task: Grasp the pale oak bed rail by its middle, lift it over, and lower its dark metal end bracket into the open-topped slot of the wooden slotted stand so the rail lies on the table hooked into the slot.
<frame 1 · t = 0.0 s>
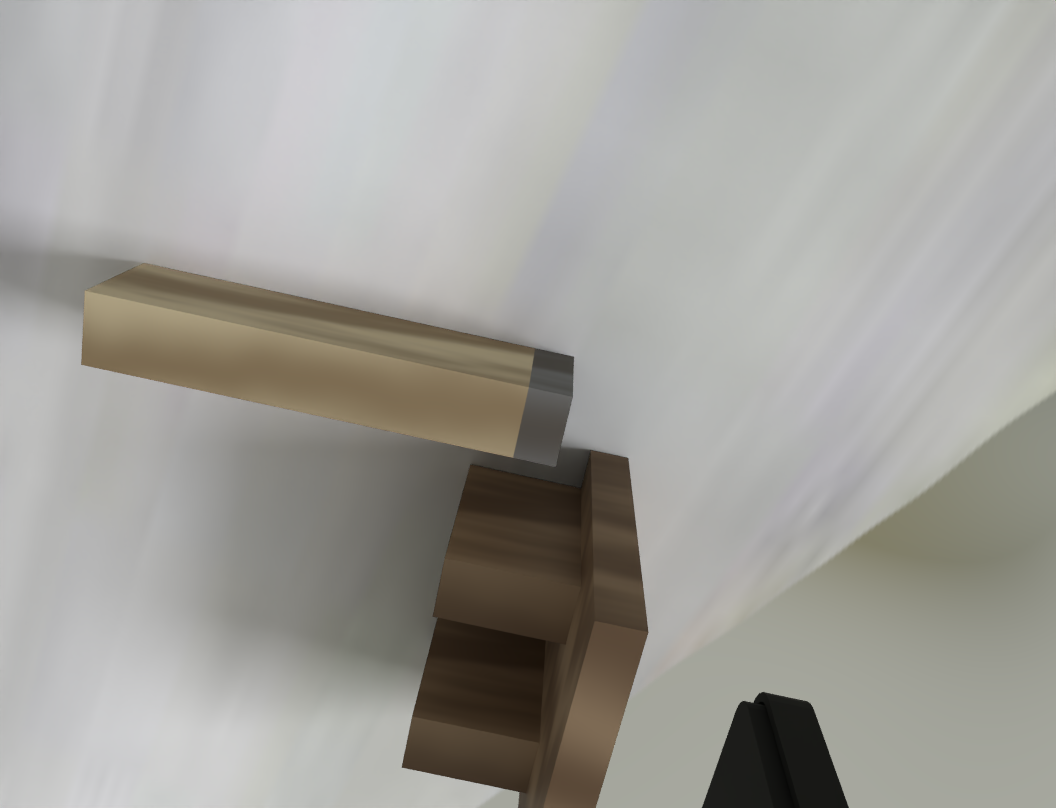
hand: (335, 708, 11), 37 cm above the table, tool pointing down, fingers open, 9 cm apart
bed rail: (354, 342, 48), on the table
wooden slotted stand: (504, 569, 52), on the table
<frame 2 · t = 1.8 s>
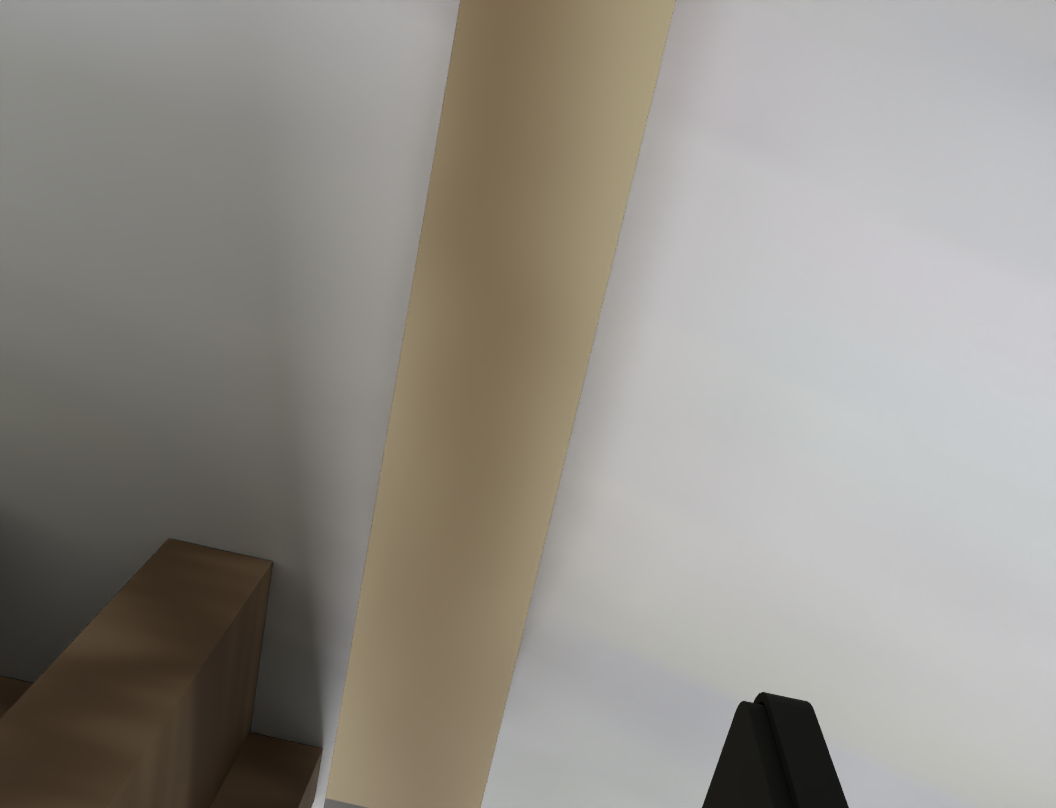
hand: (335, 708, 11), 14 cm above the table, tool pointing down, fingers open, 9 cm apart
bed rail: (503, 370, 24), on the table
wooden slotted stand: (69, 606, 28), on the table
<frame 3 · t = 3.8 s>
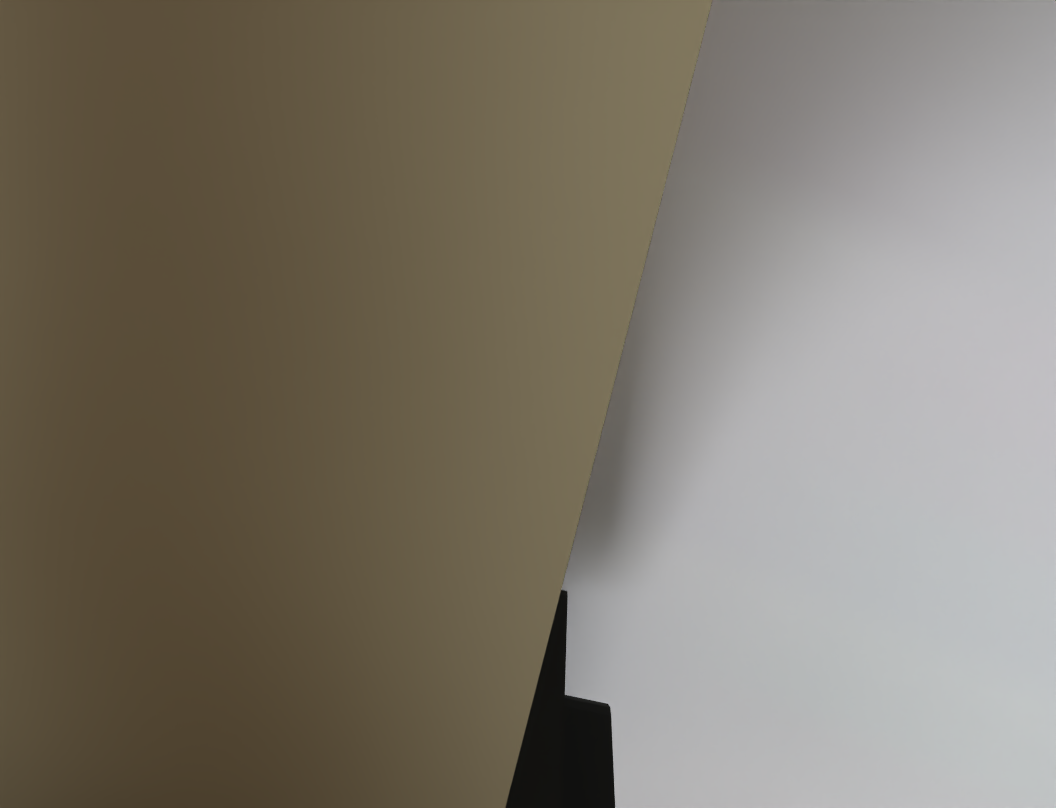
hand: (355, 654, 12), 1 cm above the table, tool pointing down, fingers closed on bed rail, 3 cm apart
bed rail: (368, 620, 13), on the table, touching gripper
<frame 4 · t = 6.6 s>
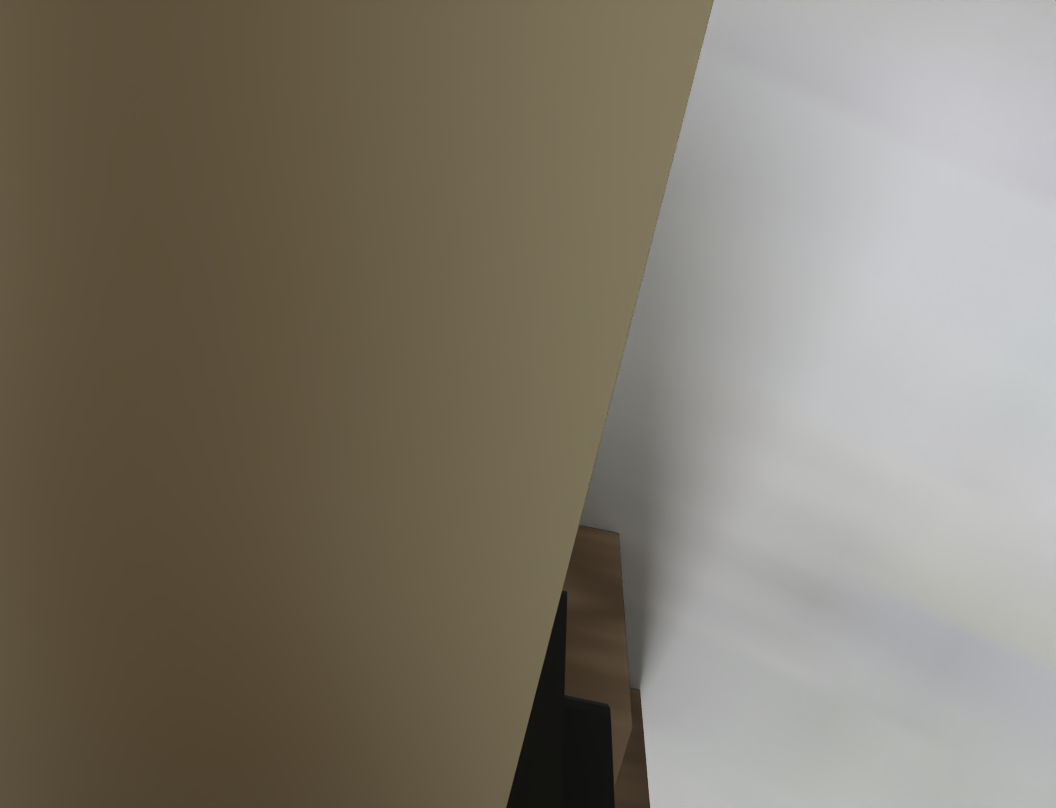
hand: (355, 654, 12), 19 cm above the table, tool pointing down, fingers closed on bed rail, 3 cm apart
bed rail: (368, 621, 13), point 18 cm above the table, touching gripper
wooden slotted stand: (438, 573, 33), on the table
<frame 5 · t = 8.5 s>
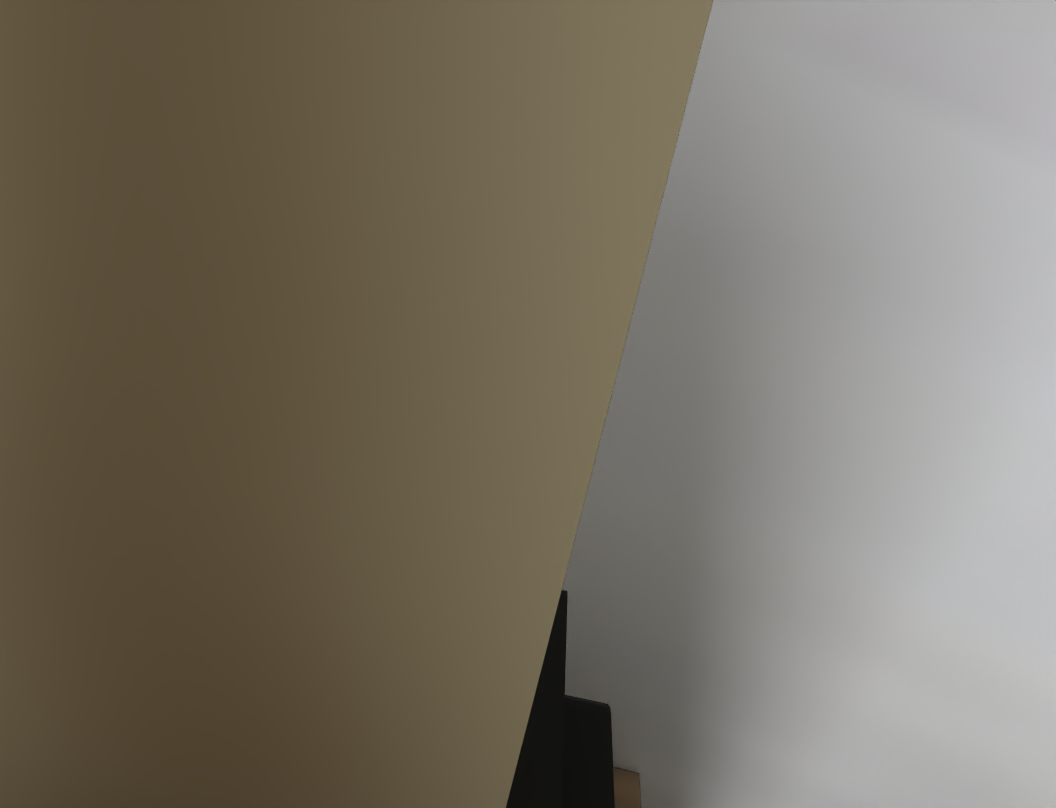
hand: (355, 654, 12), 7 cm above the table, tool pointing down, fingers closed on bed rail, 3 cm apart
bed rail: (368, 620, 13), point 7 cm above the table, touching gripper
when the fingers open (2 cm above the table, at t = 9.9 s): bed rail drops 1 cm, on the table.
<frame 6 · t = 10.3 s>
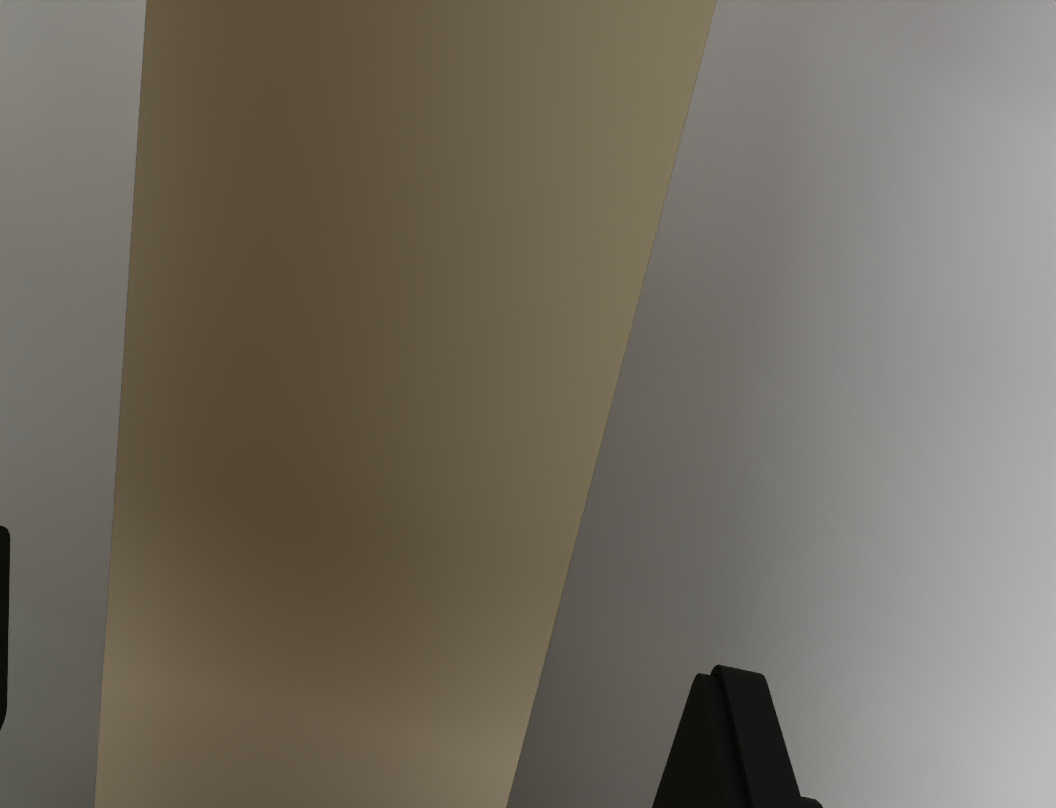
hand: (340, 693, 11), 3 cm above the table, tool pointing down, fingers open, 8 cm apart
bed rail: (400, 567, 14), on the table
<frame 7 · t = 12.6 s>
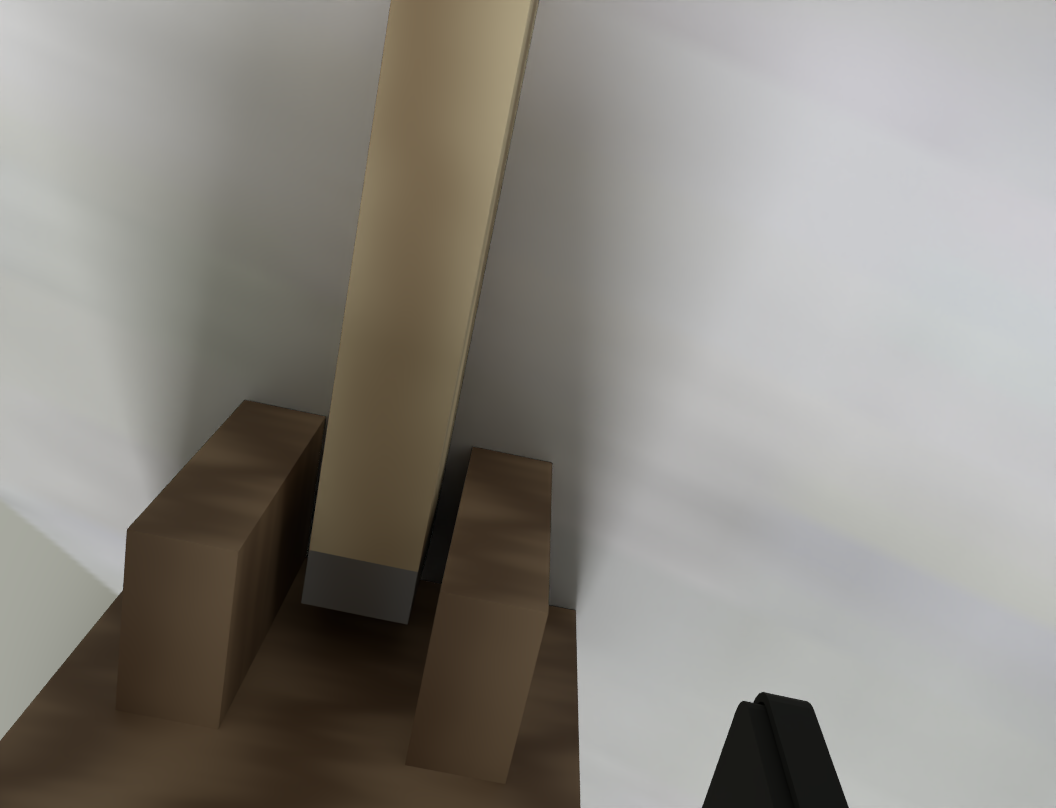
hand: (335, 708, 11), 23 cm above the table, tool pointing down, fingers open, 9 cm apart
bed rail: (437, 247, 32), on the table
wooden slotted stand: (387, 503, 36), on the table
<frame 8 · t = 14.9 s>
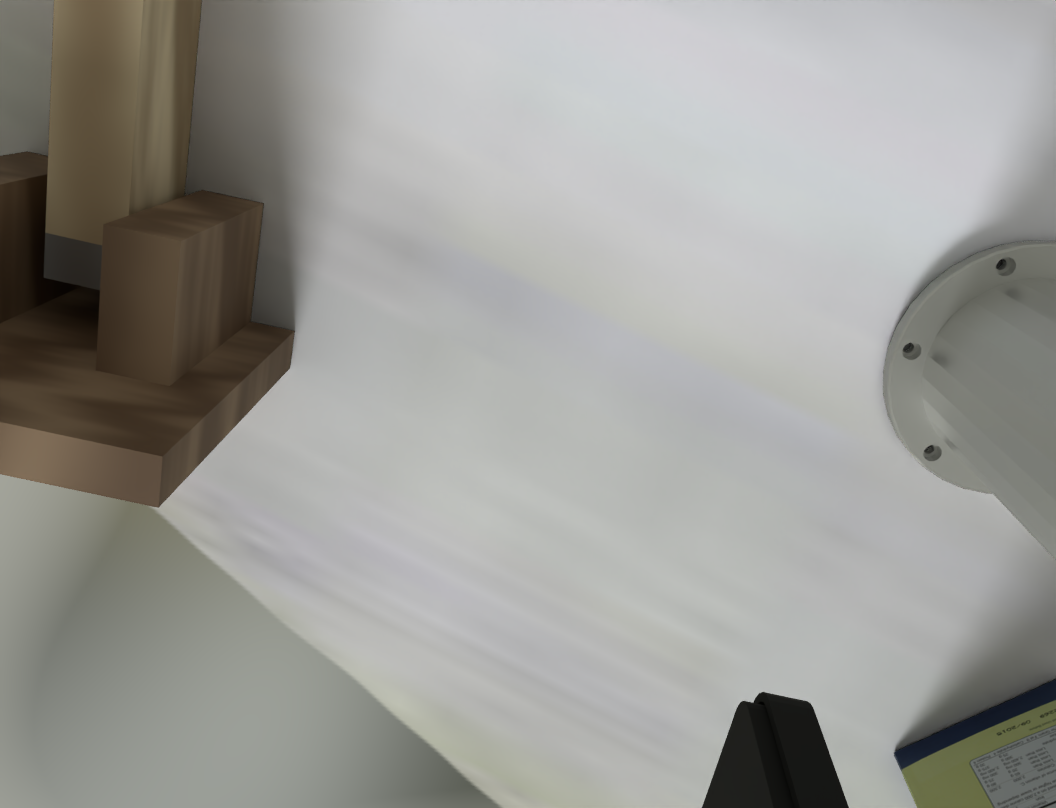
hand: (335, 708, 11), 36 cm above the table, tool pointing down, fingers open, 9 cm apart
protein box: (1029, 802, 55), on the table
bed rail: (160, 24, 43), on the table
wooden slotted stand: (141, 238, 46), on the table
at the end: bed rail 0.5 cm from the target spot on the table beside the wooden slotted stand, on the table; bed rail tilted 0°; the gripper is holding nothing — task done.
